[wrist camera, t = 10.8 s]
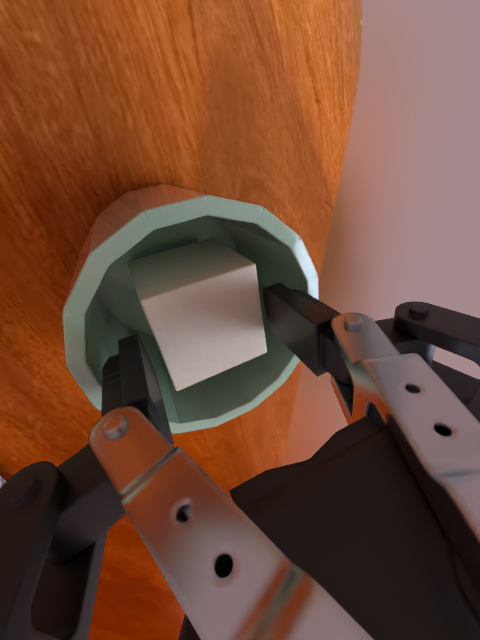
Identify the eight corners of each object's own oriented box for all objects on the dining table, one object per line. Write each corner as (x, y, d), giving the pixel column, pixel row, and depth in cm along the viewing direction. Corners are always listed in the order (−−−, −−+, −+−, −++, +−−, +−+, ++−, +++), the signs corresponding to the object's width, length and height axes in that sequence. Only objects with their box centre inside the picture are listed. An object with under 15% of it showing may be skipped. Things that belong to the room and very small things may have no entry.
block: (212, 237, 15) (256, 263, 11) (227, 309, 17) (267, 352, 13) (126, 261, 13) (139, 301, 9) (156, 335, 16) (176, 392, 12)
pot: (227, 168, 16) (316, 167, 9) (252, 311, 22) (320, 377, 15) (45, 210, 14) (-15, 249, 7) (123, 360, 19) (133, 467, 12)
